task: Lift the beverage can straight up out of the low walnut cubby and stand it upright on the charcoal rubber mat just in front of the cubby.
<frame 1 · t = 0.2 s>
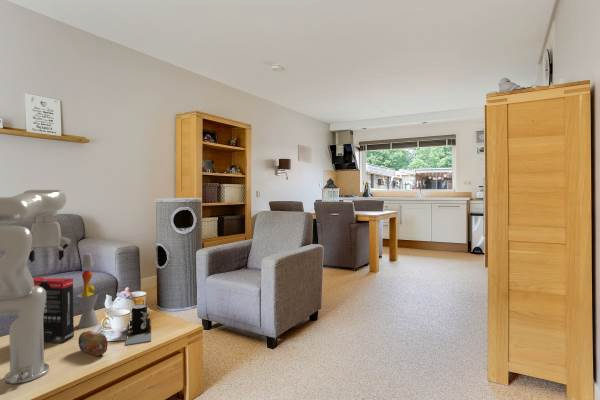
hand: (46, 260, 145), 37 cm above the table, tool pointing down, fingers open, 9 cm apart
graphics card box: (51, 340, 153), on the table
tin: (93, 353, 140), on the table
grey mat: (138, 339, 153), on the table
beverage can: (139, 332, 161), resting in walnut cubby
walnut cubby: (139, 331, 162), on the table
lava lamp: (88, 324, 170), on the table
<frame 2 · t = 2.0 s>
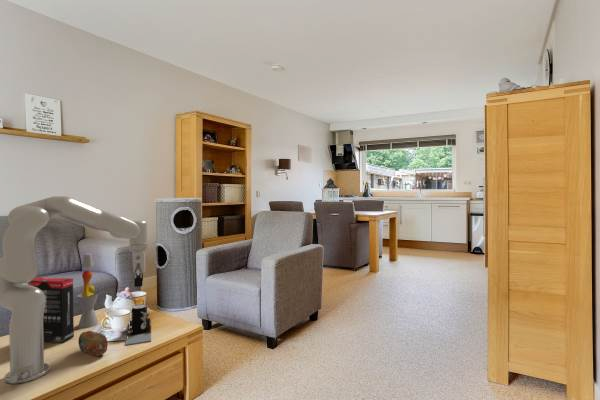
hand: (138, 283, 161), 22 cm above the table, tool pointing down, fingers open, 9 cm apart
nothing on the table moved.
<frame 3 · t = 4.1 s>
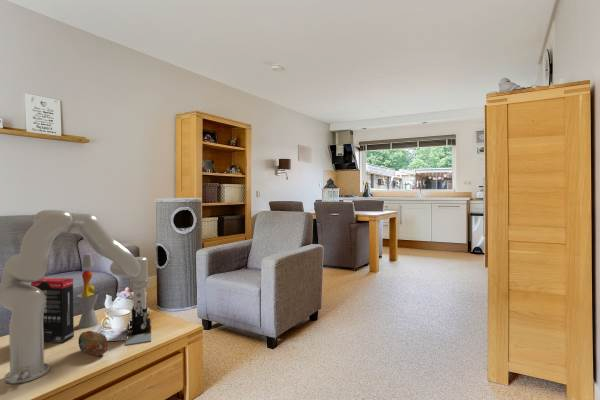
hand: (139, 321, 161), 5 cm above the table, tool pointing down, fingers closed on beverage can, 6 cm apart
beverage can: (139, 332, 162), resting in walnut cubby, touching gripper
everything else where it was.
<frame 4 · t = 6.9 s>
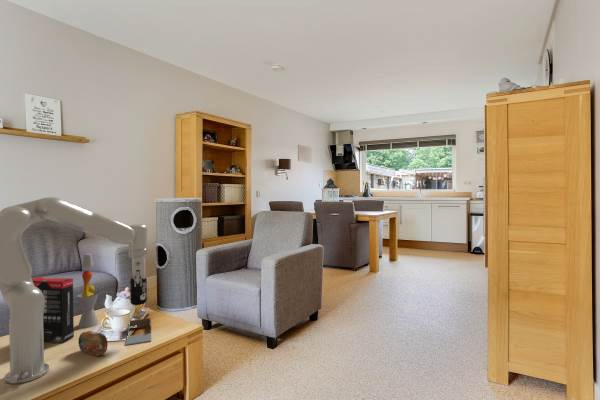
hand: (138, 292, 152), 21 cm above the table, tool pointing down, fingers closed on beverage can, 6 cm apart
beverage can: (138, 303, 153), point 16 cm above the table, touching gripper
everything else where it was.
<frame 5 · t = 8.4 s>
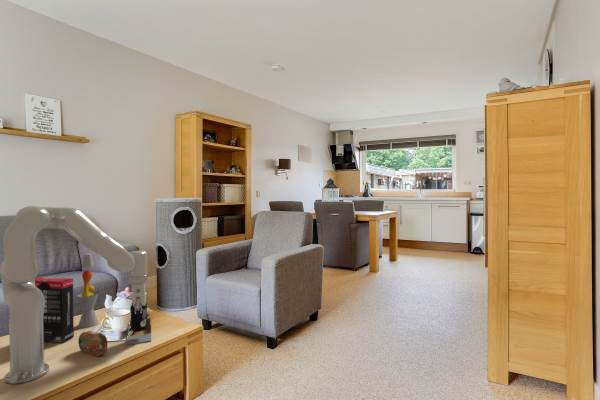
hand: (138, 318, 153), 9 cm above the table, tool pointing down, fingers closed on beverage can, 6 cm apart
beverage can: (139, 329, 153), point 4 cm above the table, touching gripper
everything else where it was.
when the fingers open (6 cm above the table, at t = 9.5 s): beverage can stays where it is, resting on grey mat.
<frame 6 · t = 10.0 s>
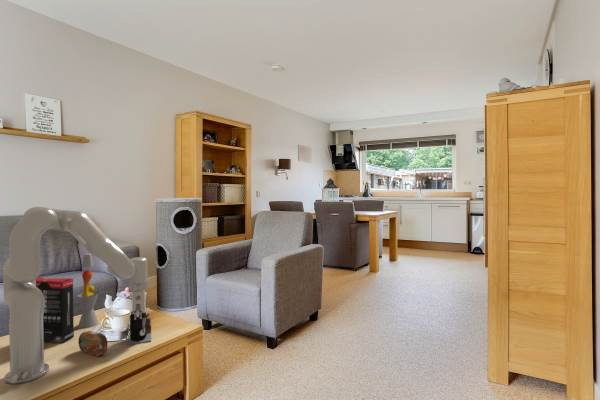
hand: (138, 324, 153), 7 cm above the table, tool pointing down, fingers open, 9 cm apart
beverage can: (138, 338, 153), resting on grey mat
everything else where it was.
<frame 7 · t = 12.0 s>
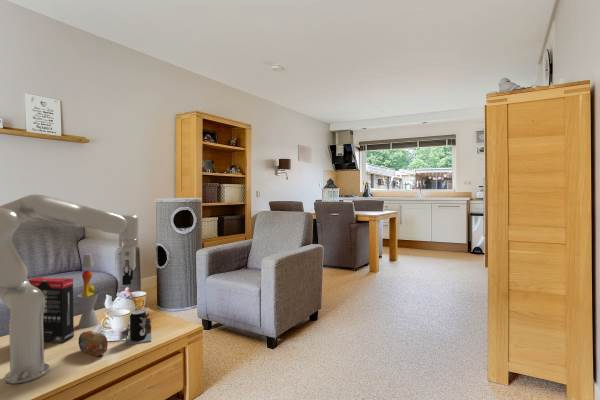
hand: (127, 282, 151), 26 cm above the table, tool pointing down, fingers open, 9 cm apart
nothing on the table moved.
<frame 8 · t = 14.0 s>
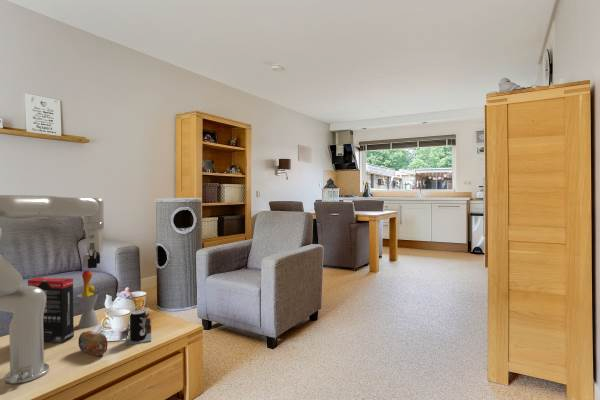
hand: (94, 265, 150), 33 cm above the table, tool pointing down, fingers open, 9 cm apart
nothing on the table moved.
at the end: beverage can 0.2 cm off-centre on the grey mat, point 0.3 cm above the grey mat's base; beverage can tilted 0°; the gripper is holding nothing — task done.
